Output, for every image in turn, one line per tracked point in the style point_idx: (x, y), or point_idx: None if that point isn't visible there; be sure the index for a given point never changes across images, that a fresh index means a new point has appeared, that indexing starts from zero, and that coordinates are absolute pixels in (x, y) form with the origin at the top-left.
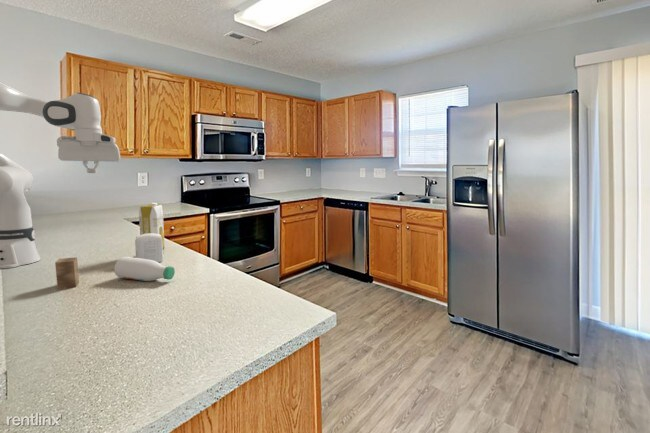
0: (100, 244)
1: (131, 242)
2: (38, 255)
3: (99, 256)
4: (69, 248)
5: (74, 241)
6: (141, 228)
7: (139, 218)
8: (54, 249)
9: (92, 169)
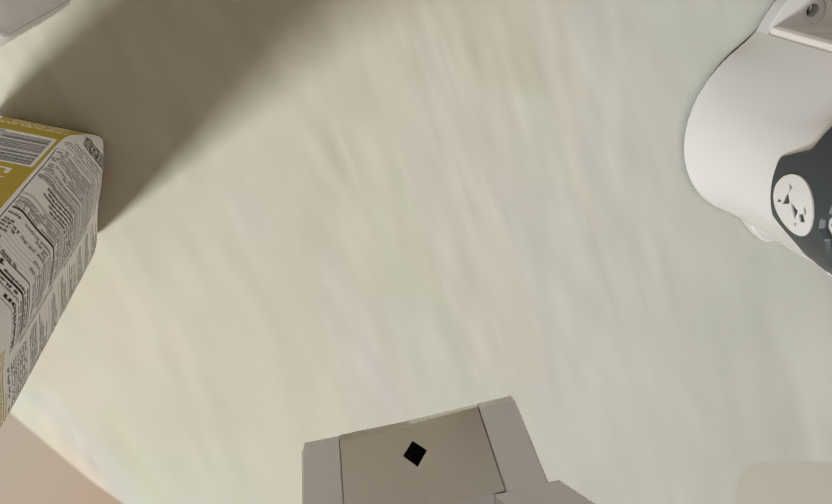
0: None
1: None
2: (703, 159)
3: (392, 197)
4: (607, 375)
5: (622, 500)
6: (12, 210)
7: (12, 288)
8: (672, 360)
9: (385, 493)
